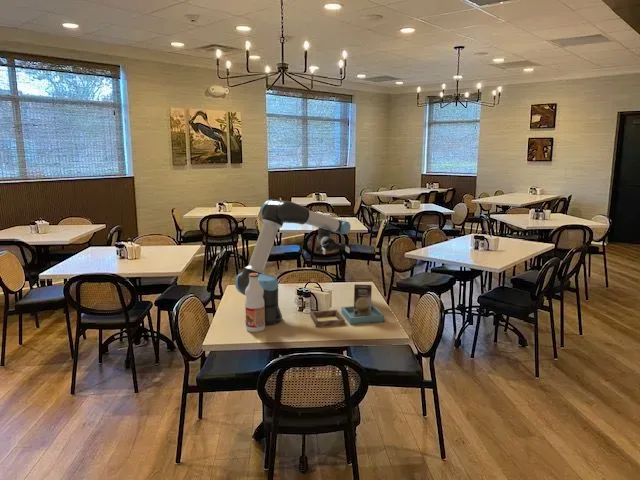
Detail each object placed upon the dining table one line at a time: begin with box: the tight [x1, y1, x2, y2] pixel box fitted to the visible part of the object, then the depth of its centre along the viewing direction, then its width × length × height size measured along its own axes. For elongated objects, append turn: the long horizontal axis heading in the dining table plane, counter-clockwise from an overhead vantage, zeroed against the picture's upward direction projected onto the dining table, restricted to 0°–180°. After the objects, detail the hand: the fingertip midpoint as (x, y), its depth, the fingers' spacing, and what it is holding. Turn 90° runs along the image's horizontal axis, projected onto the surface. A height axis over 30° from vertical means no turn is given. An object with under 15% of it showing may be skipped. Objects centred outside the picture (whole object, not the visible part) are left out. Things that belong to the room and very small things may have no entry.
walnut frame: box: [309, 309, 346, 328], centre depth 257 cm, size 14×16×2 cm
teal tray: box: [340, 304, 386, 326], centre depth 261 cm, size 18×18×4 cm
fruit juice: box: [244, 273, 266, 333], centre depth 243 cm, size 9×9×28 cm
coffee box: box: [353, 284, 373, 317], centre depth 259 cm, size 9×6×16 cm
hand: (337, 251), depth 271 cm, fingers open, 13 cm apart
